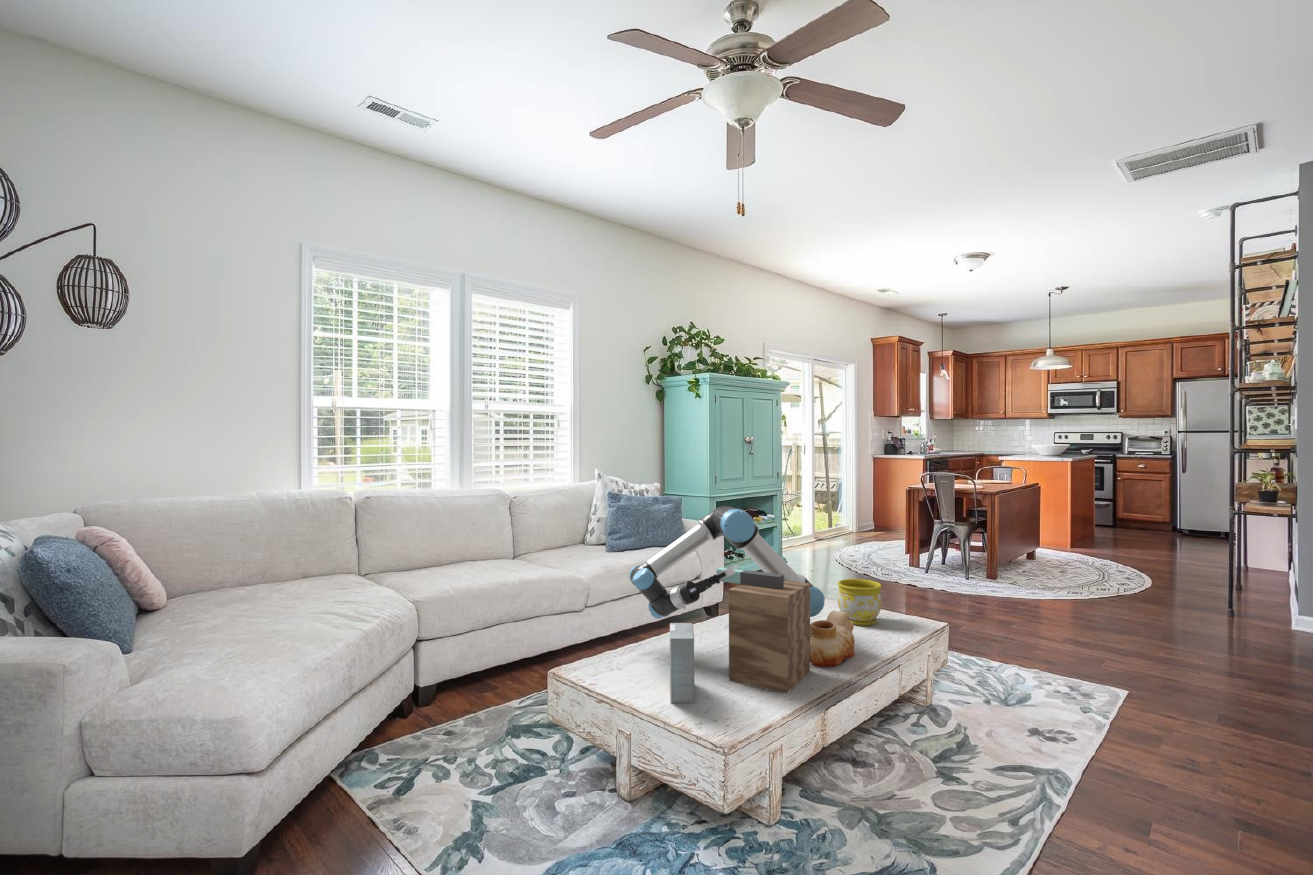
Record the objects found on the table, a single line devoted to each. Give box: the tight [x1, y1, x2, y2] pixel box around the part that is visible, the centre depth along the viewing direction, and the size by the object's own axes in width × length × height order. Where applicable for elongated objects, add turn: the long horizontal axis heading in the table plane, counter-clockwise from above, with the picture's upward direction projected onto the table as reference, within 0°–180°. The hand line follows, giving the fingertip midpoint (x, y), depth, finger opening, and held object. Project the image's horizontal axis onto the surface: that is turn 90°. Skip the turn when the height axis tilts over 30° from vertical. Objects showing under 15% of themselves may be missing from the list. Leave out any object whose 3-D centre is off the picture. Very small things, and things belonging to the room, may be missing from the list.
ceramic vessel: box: [810, 610, 855, 668], centre depth 236 cm, size 14×26×15 cm, turn 141°
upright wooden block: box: [728, 580, 811, 694], centre depth 218 cm, size 22×20×30 cm
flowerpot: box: [837, 578, 882, 627], centre depth 279 cm, size 18×18×16 cm
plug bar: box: [716, 566, 784, 589], centre depth 222 cm, size 23×4×4 cm, turn 58°
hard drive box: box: [669, 622, 695, 704], centre depth 204 cm, size 16×8×20 cm, turn 178°
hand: (736, 568), depth 224 cm, fingers closed on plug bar, 4 cm apart
